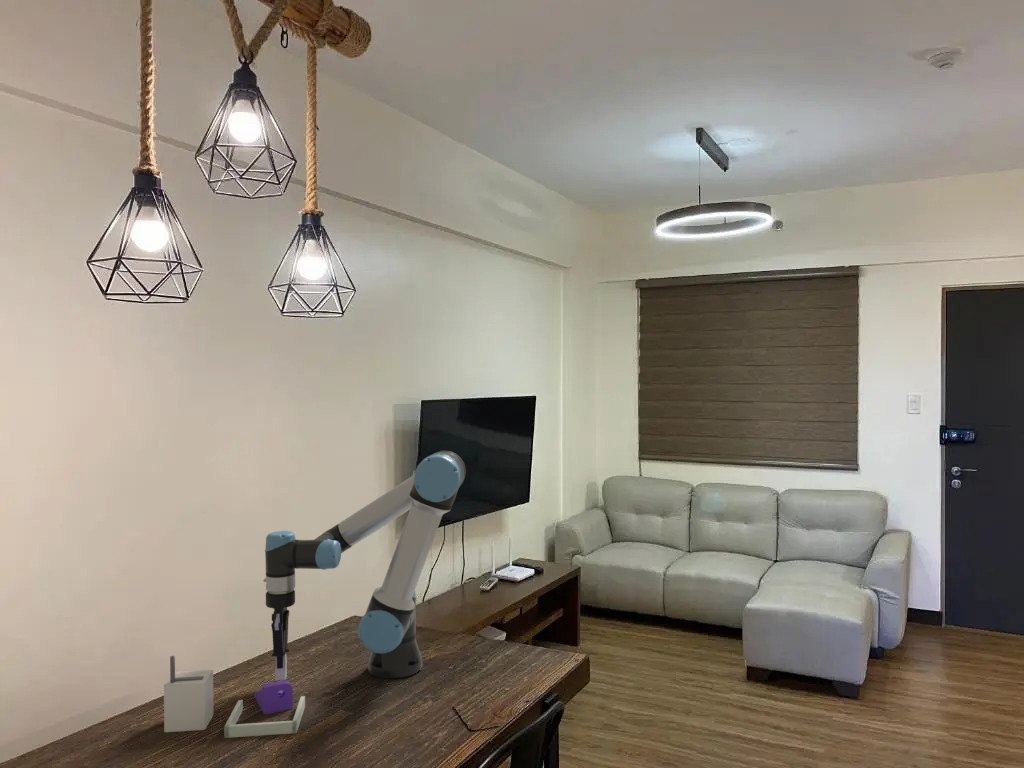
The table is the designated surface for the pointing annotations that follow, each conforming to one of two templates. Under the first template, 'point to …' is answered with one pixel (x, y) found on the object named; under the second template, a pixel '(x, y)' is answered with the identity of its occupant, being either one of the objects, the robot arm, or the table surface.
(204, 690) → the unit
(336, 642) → the table surface
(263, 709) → the bracket
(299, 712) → the corral
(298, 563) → the robot arm
